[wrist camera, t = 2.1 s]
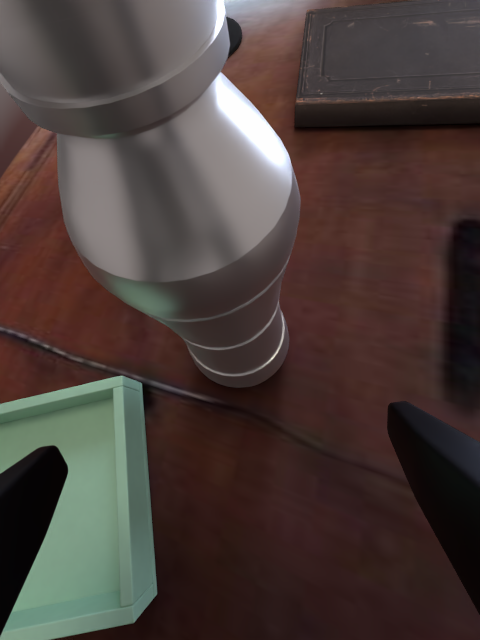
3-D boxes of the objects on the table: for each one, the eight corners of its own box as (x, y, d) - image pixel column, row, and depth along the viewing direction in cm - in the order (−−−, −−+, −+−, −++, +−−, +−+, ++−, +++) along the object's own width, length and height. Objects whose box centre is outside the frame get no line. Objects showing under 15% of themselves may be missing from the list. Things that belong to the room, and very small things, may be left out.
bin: (157, 594, 17) (134, 624, 14) (-43, 634, 18) (-103, 670, 15) (142, 383, 22) (122, 375, 19) (-16, 419, 23) (-57, 417, 20)
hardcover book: (305, 35, 35) (306, 9, 33) (530, 18, 31) (548, -12, 29) (293, 131, 30) (294, 107, 28) (565, 126, 26) (591, 97, 24)
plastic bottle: (231, 293, 24) (58, -204, 5) (306, 336, 22) (440, -232, 3) (181, 359, 22) (-294, -15, 4) (256, 413, 20) (0, 151, 2)
